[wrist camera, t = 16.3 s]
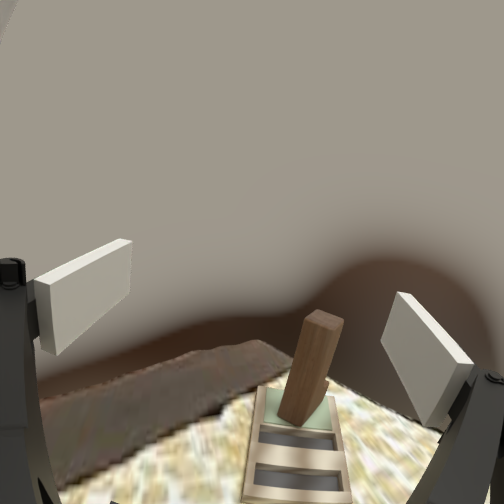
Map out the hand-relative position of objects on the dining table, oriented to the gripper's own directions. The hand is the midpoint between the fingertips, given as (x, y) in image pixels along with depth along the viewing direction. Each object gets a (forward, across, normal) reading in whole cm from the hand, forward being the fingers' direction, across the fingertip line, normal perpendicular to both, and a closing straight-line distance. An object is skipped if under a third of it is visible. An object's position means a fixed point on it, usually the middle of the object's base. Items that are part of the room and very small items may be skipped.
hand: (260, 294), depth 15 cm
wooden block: (+28, +10, -30) cm, 42 cm away
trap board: (+21, +10, -32) cm, 39 cm away
